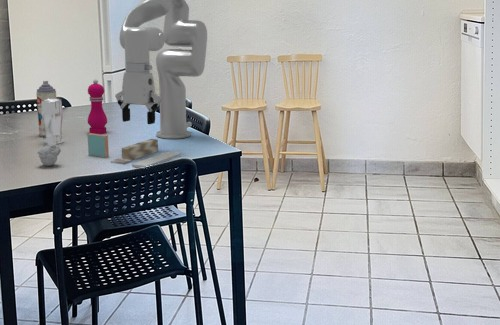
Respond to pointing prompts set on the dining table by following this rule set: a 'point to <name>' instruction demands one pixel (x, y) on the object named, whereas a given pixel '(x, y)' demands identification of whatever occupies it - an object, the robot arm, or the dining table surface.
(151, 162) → the board
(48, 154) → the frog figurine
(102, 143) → the tile
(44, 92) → the aerosol can
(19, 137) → the dining table surface
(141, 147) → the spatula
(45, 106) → the beer glass
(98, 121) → the pepper mill
